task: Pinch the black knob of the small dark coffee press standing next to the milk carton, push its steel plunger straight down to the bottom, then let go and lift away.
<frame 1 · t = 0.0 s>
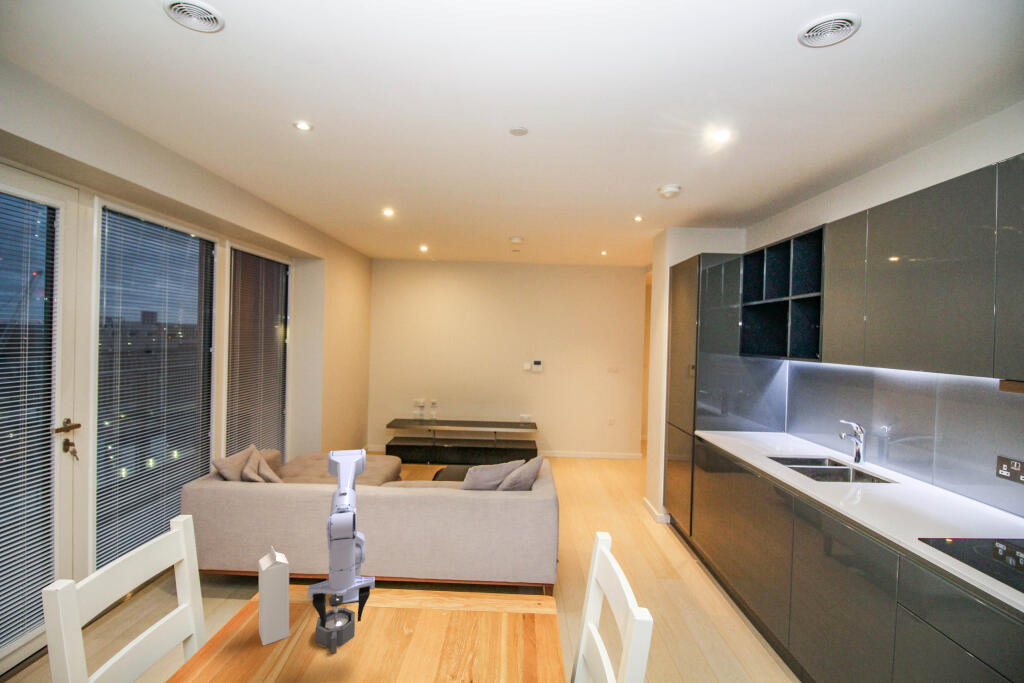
hand: (341, 621, 109), 10 cm above the table, fingers open, 7 cm apart
plunger: (335, 610, 119), point 6 cm above the table, slide at 0.0 cm
milk: (273, 635, 118), on the table
grey jug: (335, 634, 119), on the table
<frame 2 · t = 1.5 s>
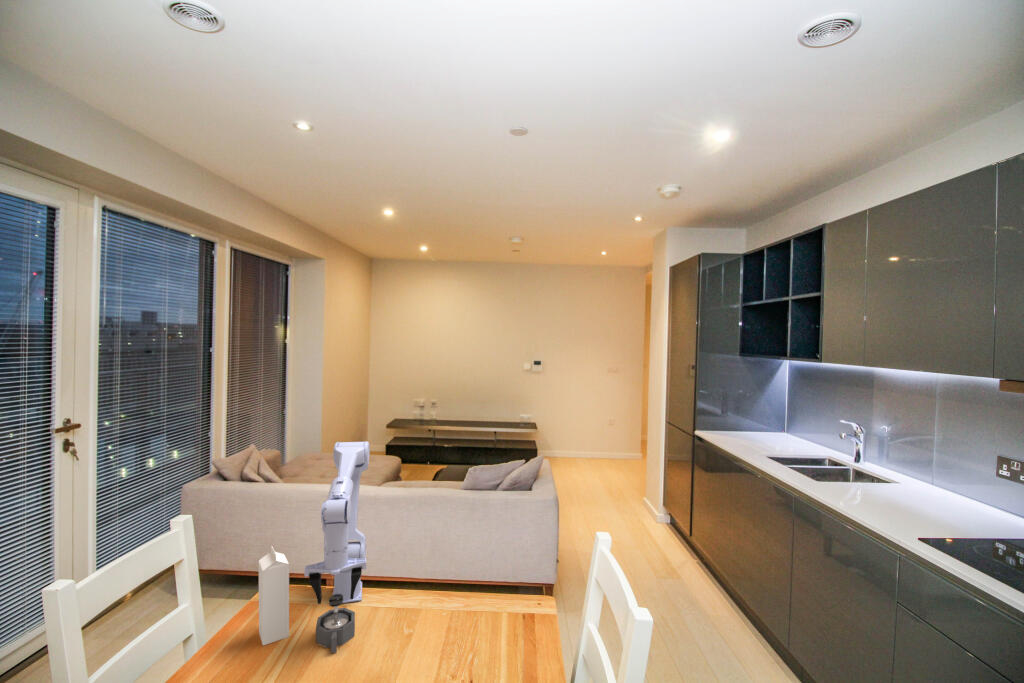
hand: (335, 599, 118), 9 cm above the table, fingers open, 7 cm apart
nothing on the table moved.
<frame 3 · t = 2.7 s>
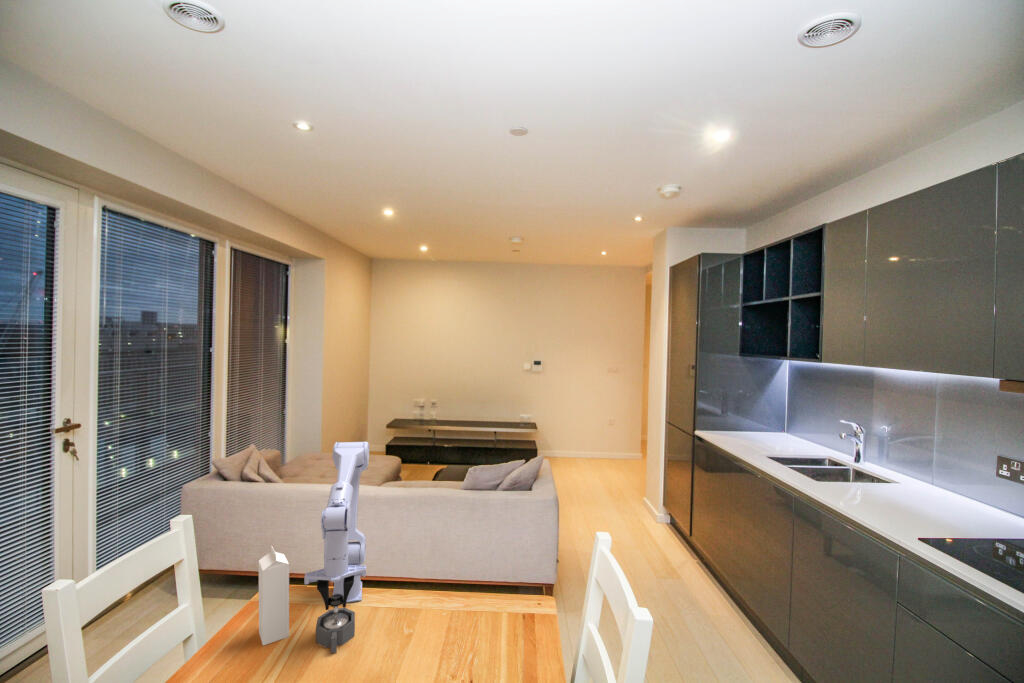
hand: (335, 606, 119), 7 cm above the table, fingers closed on plunger, 3 cm apart
plunger: (335, 610, 119), point 6 cm above the table, slide at 0.0 cm, touching gripper
everything else where it was.
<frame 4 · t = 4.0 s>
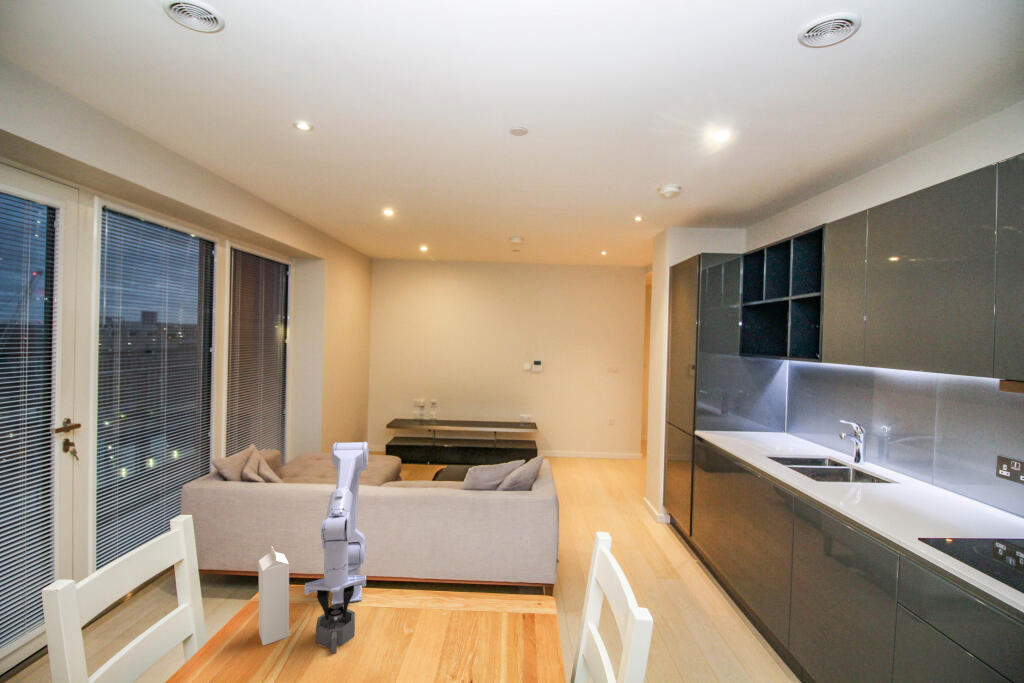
hand: (335, 616, 119), 5 cm above the table, fingers closed on plunger, 3 cm apart
plunger: (335, 620, 119), point 4 cm above the table, slide at 2.5 cm, touching gripper
everything else where it was.
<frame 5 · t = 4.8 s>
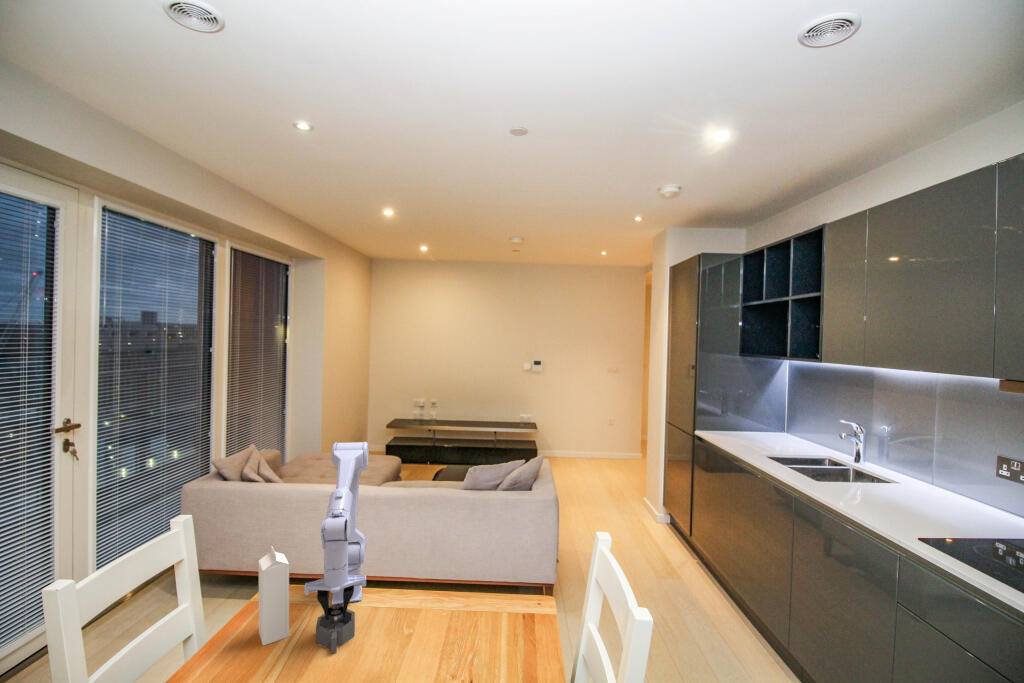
hand: (335, 616, 119), 5 cm above the table, fingers closed on plunger, 3 cm apart
plunger: (335, 620, 119), point 4 cm above the table, slide at 2.5 cm, touching gripper
everything else where it was.
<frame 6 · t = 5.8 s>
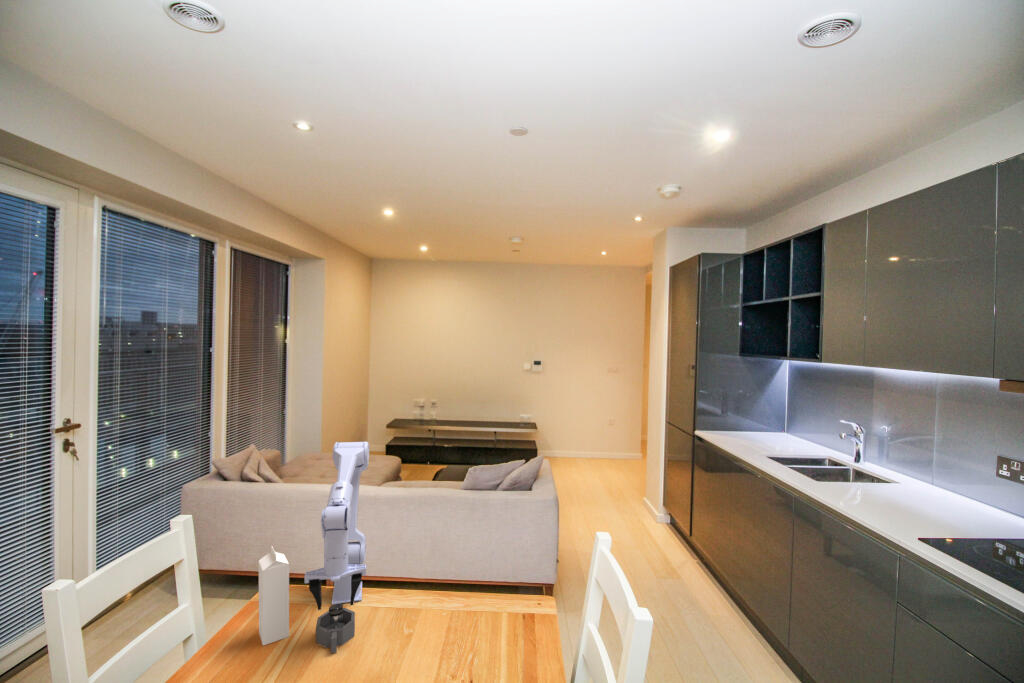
hand: (336, 605, 119), 8 cm above the table, fingers open, 7 cm apart
plunger: (335, 620, 119), point 4 cm above the table, slide at 2.5 cm
everything else where it was.
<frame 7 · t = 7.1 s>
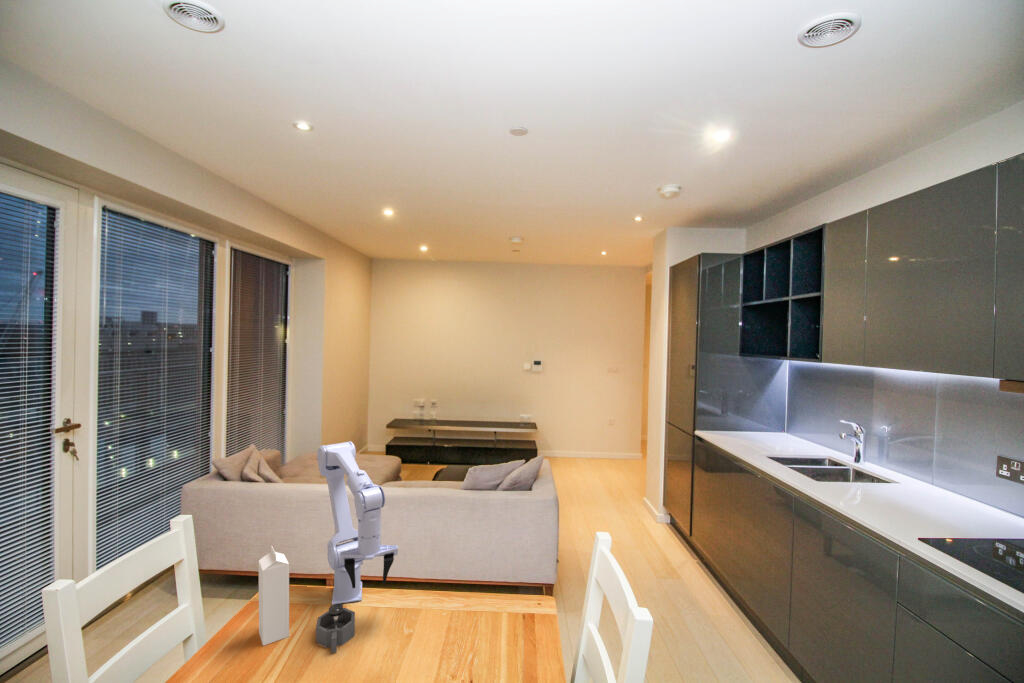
hand: (369, 584, 124), 10 cm above the table, fingers open, 7 cm apart
nothing on the table moved.
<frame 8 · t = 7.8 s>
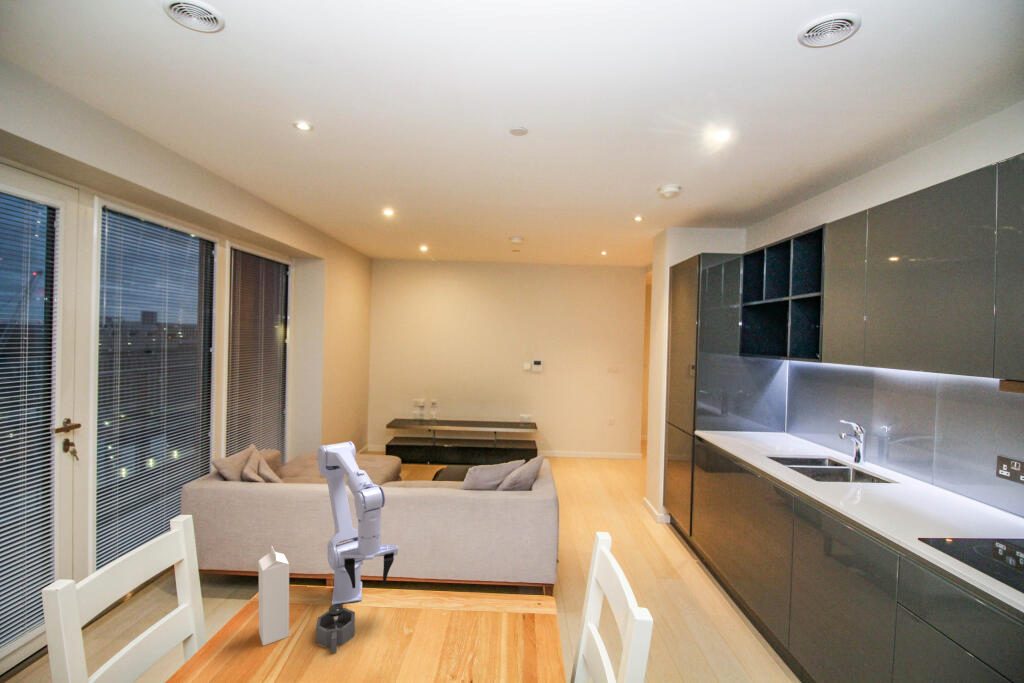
hand: (369, 584, 124), 10 cm above the table, fingers open, 7 cm apart
nothing on the table moved.
at the end: plunger slide at 2.5 cm; the gripper is holding nothing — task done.
